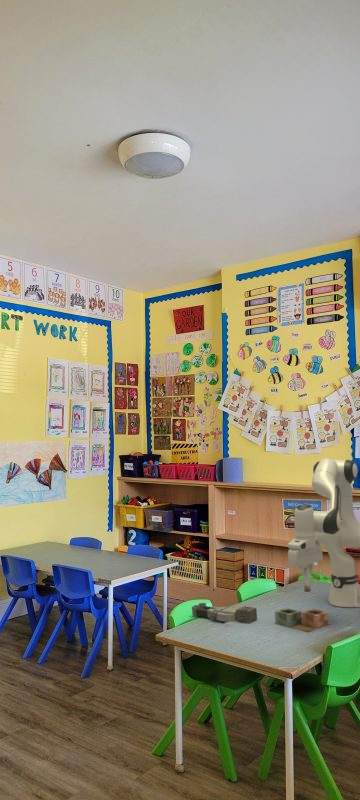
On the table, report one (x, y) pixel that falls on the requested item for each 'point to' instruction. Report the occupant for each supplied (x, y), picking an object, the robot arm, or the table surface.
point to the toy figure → (226, 613)
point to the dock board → (301, 619)
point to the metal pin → (307, 580)
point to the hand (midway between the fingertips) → (306, 574)
